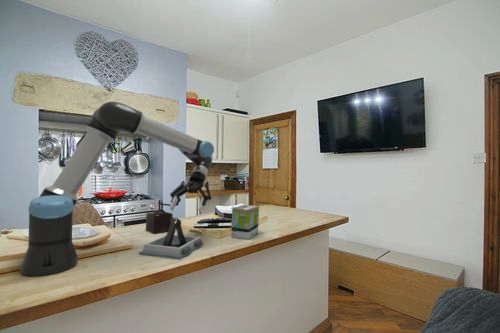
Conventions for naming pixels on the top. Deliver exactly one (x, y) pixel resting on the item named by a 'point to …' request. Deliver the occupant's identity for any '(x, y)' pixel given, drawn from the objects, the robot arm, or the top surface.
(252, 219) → the tea box
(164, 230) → the dark brown handled box
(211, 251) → the top surface
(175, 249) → the tray
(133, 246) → the top surface
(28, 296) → the top surface
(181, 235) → the dark grey triangular stand
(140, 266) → the top surface
